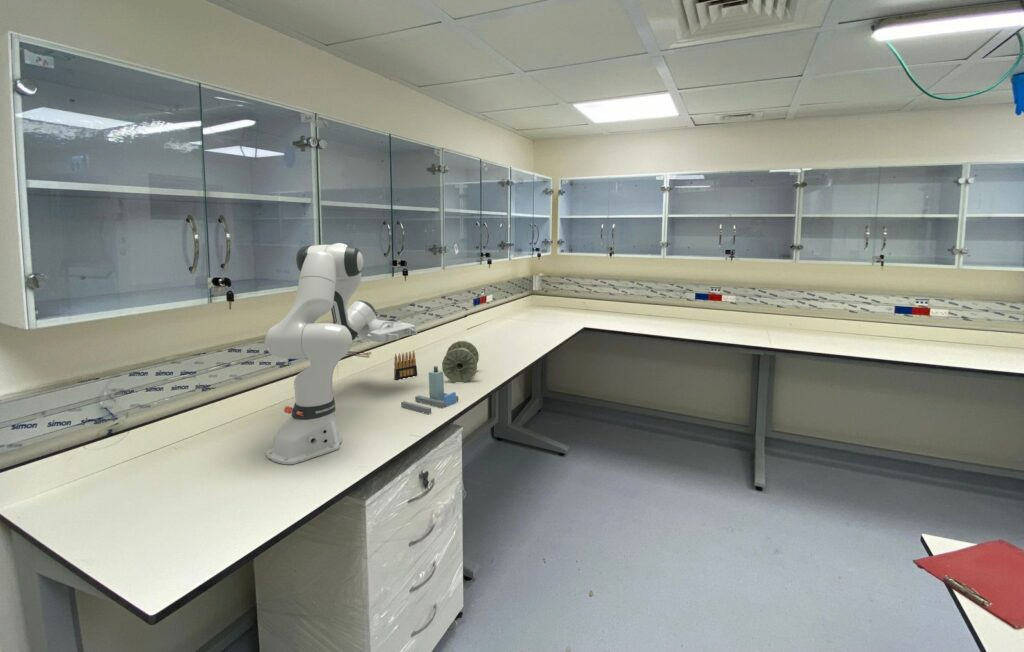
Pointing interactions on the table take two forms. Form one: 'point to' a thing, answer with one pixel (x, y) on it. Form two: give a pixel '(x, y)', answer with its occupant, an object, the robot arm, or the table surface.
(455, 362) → the spool
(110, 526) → the table surface
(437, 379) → the capped teal pillar
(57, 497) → the table surface
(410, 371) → the ammunition clip
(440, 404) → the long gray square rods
